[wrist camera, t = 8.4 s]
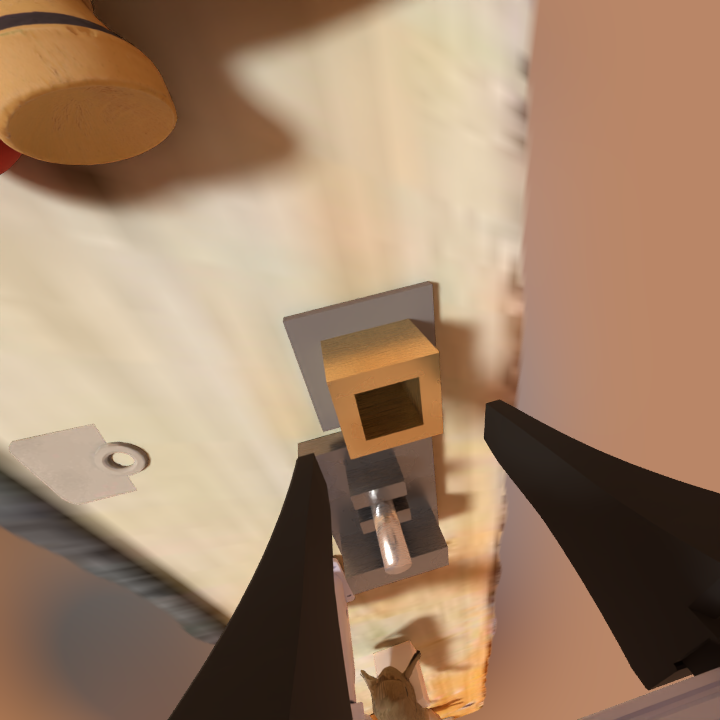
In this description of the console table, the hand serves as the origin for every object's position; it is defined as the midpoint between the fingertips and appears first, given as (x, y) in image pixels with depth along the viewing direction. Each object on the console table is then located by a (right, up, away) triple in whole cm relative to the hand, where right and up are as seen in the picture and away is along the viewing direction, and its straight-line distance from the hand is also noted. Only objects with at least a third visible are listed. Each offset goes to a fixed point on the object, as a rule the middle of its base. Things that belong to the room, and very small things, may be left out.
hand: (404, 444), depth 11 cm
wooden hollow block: (-1, +3, +5) cm, 6 cm away
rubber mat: (-1, +3, +6) cm, 7 cm away
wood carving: (+4, -45, +35) cm, 58 cm away
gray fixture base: (-1, -7, +12) cm, 13 cm away
